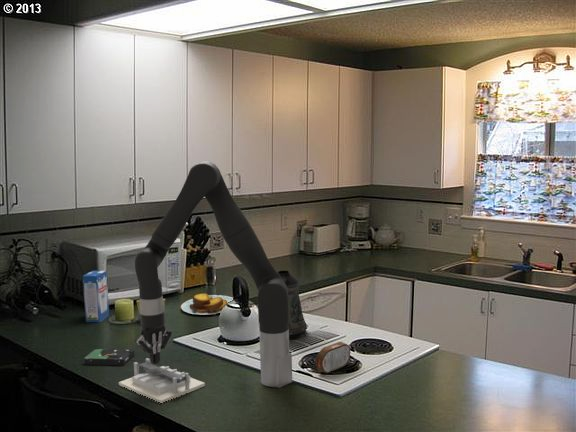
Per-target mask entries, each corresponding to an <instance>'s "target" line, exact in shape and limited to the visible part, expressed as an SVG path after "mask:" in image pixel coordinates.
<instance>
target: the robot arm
mask: <svg viewBox="0 0 576 432" xmlns="http://www.w3.org/2000/svg"><path fill="white" fill-rule="evenodd" d="M204 198H205V200H206V201H207V203H208V204H209V206H210V207H211V210H212V212H213V214H214V218H215V220H216V224H217V226H218V229H219V231H220V234H221V235H222V237H223V240H224V242H225V243H226V245H227V247H228V248H229V250H230V251H231V253H232V254H233V255H234V257H235V258H236V259H237V260H238V261H239V262H240V263H241V264H242V265H243V266H244V268H246V270H247V271H248V273H249V275H250V277H251V278H252V280H253V282H254V284H255V286H256V288H257V292H258V293H257V312H258V326H259V327H258V328H259V358H260V359H259V361H260V362H259V363H260V383H261V384H262V385H263V386H266V387H271V388H278V389H279V388H283V387H284V386H287V385H288V384H291V383H293V359H292V358H293V354H292V352H290V340H289V321H288V289H287V286H286V284H285V282H284V281H283V280H282V278H281V277H280V276H279V274H278V271H277V270H276V269H275V268H274V266H273V265H272V263H271V262H270V260H269V258H268V256H267V255H266V251H265V249H264V247H263V245H262V244H261V241H260V240H259V238H258V235H257V234H256V232H255V230H254V229H253V227H252V225H251V223H250V222H249V220H248V219H247V217H246V216H245V214H244V213H243V211H242V209H241V208H240V206H239V205H238V204H237V202H236V201H235V199H234V198H233V195H232V194H231V192H230V191H229V187H228V186H227V184H226V182H225V180H224V177H223V175H222V172H221V171H220V168H218V166H217V165H216V164H214V163H213V162H211V161H207V160H205V161H200V162H198V163H195V164H194V165H193V166H192V167H191V168H190V170H189V172H188V174H187V176H186V179H185V182H184V184H183V186H182V188H181V190H180V192H179V193H178V195H177V197H176V198H175V200H174V202H173V203H172V204H171V206H170V208H169V209H168V210H167V212H166V213H165V214H164V216H163V217H162V219H161V220H160V222H159V223H158V225H157V226H156V228H155V229H154V230H153V233H152V235H151V238H150V239H149V241H148V242H147V244H146V245H145V247H144V248H143V249H142V250H141V251H139V252H138V253H137V254H136V256H135V259H134V270H135V273H136V275H135V276H136V279H137V282H138V293H139V300H140V304H139V307H140V314H139V319H140V328H141V332H140V336H139V338H136V339H135V340H134V342H135V343H136V345H137V346H138V347H139V348H140V349H141V350H142V351H143V352H144V353H147V354H149V359H150V362H151V364H153V365H155V366H157V365H159V364H160V361H161V350H164V349H165V348H166V346H167V345H168V342H169V339H170V338H171V335H172V331H171V330H169V329H168V330H167V329H166V326H165V324H166V318H165V309H164V302H163V299H164V298H163V297H164V296H163V287H162V286H163V285H162V284H163V283H162V281H161V279H160V278H159V272H158V267H159V266H160V265H161V263H162V262H163V261H164V259H165V258H166V256H167V254H168V252H169V250H170V248H171V247H172V246H173V245H174V243H175V242H176V240H177V239H178V238H179V235H181V233H182V231H183V230H184V227H185V226H186V224H187V223H188V220H189V219H190V216H191V215H192V213H193V211H194V210H195V209H196V207H197V206H198V205H199V204H200V202H201V201H202V200H203V199H204Z"/></svg>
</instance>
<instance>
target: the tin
mask: <svg viewBox="0 0 576 432" xmlns="http://www.w3.org/2000/svg"><path fill="white" fill-rule="evenodd" d="M350 359H351V347H350V345H349V344H347V343H344V342H343V341H338V342H335V343H332V344H330V345H327V346H324V347H322V348H321V349H320V350H319V352H318V353H317V355H316V359H315V367H316V369H317V371H319V372H322V373H325V374H329V372H330V373H331V371H332V372H334V371H336V370H340V369H341V368H344V367H346V366H347V365H348V363H349V361H350Z"/></svg>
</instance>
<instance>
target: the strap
mask: <svg viewBox="0 0 576 432" xmlns="http://www.w3.org/2000/svg"><path fill="white" fill-rule="evenodd" d="M139 369H141V370H144V371H145V372H146V371H148V372H151V373H154V374H156V375H159V376H161V377H164V378H166V379H169V380H171V381H173V378H174V377H175V378H177V383H180V382H182V381H185V380H186V377H185V376H181V375H179V374H176V373H174V372H171V371H168V370H166V369H163V368H161V366H158V365H154V364H152V363H151V364H150V363H147V362H146V361H145V362H142V363H139Z"/></svg>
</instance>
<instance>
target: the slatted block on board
mask: <svg viewBox="0 0 576 432" xmlns="http://www.w3.org/2000/svg"><path fill="white" fill-rule="evenodd" d="M145 362H147V363H150V364H152V363H151V362H150V357H149V358H148V357H147V358H145ZM139 364H140V363H139V362H137V361H135V362H133V371H134V373H133V375H134V376H132V377H130V378H126V379H124V380H121V381H118V386H119V387H122V388H124V387H125V388H124V389H126V388H127V389H126V390H129V391H131V390H132V391H131V392H133V391H134V392H133V393H135V392H136V393H135V394H137V395H140V394H141V395H140V396H142V395H143V396H142V397H144V396H146V397H145V398H147V397H148V398H147V399H149V398H150V399H149V400H151V399H153V400H155V401H154V402H156V401H157V402H156V403H158V402H160V403H162V404H164V403H163V402H165V401H167V402H169V401H171V399H172V400H174V399H176V397H177V398H180V397H182V396H184V395H186V393H187V394H189V393H191V392H193V391H196V390H200V389H201V388H204V387H205V386H206V383H205V382H204V381H201V380H198V379H195V378H193V377H191V375H190V374H189V372H185V371H182V372H181V371H178V369H177V368H174V369H172V368H170V366H169V365H168V366H165V365H162V366H160V367H161V368H163V369H166V370H168V371H171V372H174V373H176V374H179V375H181V376H185V377H186V380H185V381H182V382H180V383H177V378H175V377H174V378H173V381H171V380H169V379H166V378H164V377H161V376H159V375H156V374H154V373H151V372H148V371H146V370H145V372H143V373H140V368H139ZM181 395H182V396H181ZM173 398H174V399H173ZM153 400H152V401H153ZM168 400H169V401H168ZM160 403H159V404H160ZM165 403H166V402H165Z"/></svg>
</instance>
